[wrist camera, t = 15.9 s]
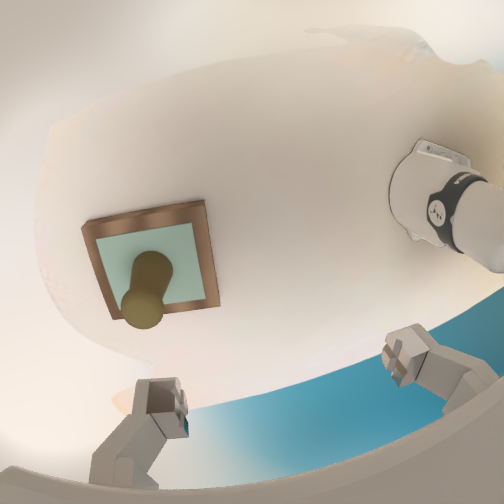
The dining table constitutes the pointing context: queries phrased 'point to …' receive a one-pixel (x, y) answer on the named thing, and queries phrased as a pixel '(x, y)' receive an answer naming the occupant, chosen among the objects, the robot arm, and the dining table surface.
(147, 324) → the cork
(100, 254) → the wooden tray
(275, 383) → the dining table surface
